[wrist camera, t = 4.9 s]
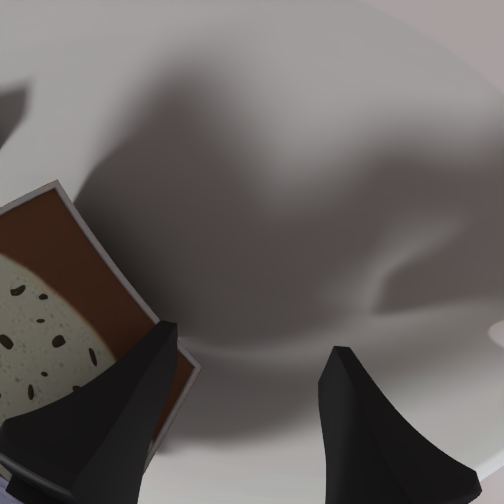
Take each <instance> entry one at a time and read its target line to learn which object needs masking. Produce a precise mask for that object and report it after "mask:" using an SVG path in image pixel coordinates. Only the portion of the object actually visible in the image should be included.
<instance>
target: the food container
mask: <svg viewBox="0 0 504 504" xmlns="http://www.w3.org/2000/svg"><path fill="white" fill-rule="evenodd" d="M159 321H160V320H159V318H158V317H157V316H156V315H155V314H154V312H153V311H152V310H151V309H150V308H149V306H148V305H147V304H146V303H145V302H144V300H143V299H142V298H141V297H140V295H139V294H138V293H137V292H136V290H135V289H134V288H133V287H132V285H131V284H130V283H129V282H128V280H127V279H126V278H125V277H124V275H123V274H122V273H121V271H120V270H119V269H118V267H117V266H116V265H115V263H114V262H113V261H112V259H111V258H110V257H109V255H108V254H107V253H106V251H105V250H104V248H103V247H102V246H101V244H100V243H99V242H98V240H97V239H96V237H95V236H94V234H93V233H92V232H91V230H90V229H89V227H88V226H87V224H86V223H85V221H84V220H83V218H82V217H81V215H80V214H79V212H78V211H77V209H76V208H75V206H74V205H73V203H72V202H71V200H70V199H69V197H68V195H67V194H66V192H65V191H64V189H63V188H62V186H61V184H60V183H59V181H58V179H57V180H55V181H53V182H51V183H49V184H46V185H44V186H42V187H40V188H38V189H36V190H34V191H32V192H30V193H28V194H26V195H24V196H22V197H20V198H18V199H16V200H14V201H12V202H10V203H8V204H6V205H4V206H3V207H1V208H0V426H1V425H2V423H3V422H4V421H5V419H8V418H12V417H15V416H18V415H21V414H25V413H28V412H31V411H34V410H36V409H39V408H41V407H43V406H46V405H48V404H50V403H52V402H54V401H57V400H59V399H61V398H63V397H65V396H67V395H68V394H70V393H72V392H74V391H75V390H77V389H79V388H80V387H82V386H84V385H85V384H87V383H88V382H90V381H91V380H93V379H94V378H96V377H97V376H99V375H100V374H101V373H103V372H104V371H105V370H107V369H108V368H109V367H110V366H112V365H113V364H114V363H115V362H116V361H118V360H119V359H120V358H121V357H123V356H124V355H125V354H126V353H127V352H128V351H129V350H130V349H131V348H132V347H134V346H135V345H136V344H137V343H138V342H139V341H140V340H141V339H142V338H143V337H144V336H145V335H146V334H147V333H148V332H149V331H150V330H151V329H152V328H153V327H154V326H155V325H156V324H157V323H158V322H159ZM177 356H178V363H177V367H176V371H175V375H174V379H173V383H172V386H171V389H170V392H169V394H168V397H167V399H166V402H165V405H164V407H163V410H162V412H161V415H160V417H159V420H158V423H157V425H156V428H155V430H154V433H153V436H152V439H151V442H150V446H149V450H148V454H147V458H146V462H145V467H144V471H143V474H144V473H145V471H146V469H147V467H148V465H149V464H150V462H151V460H152V458H153V456H154V454H155V453H156V451H157V449H158V447H159V445H160V443H161V442H162V440H163V438H164V436H165V434H166V432H167V431H168V429H169V427H170V425H171V423H172V421H173V420H174V418H175V416H176V414H177V412H178V410H179V409H180V407H181V405H182V403H183V401H184V399H185V398H186V396H187V394H188V392H189V390H190V388H191V386H192V385H193V383H194V381H195V379H196V377H197V375H198V373H199V372H200V370H201V368H202V366H201V365H200V364H199V363H198V362H197V361H196V360H195V359H194V358H193V357H192V355H191V354H190V353H189V352H188V351H187V350H186V349H185V348H184V347H183V346H182V345H181V343H180V342H179V341H178V340H177ZM0 477H2V478H3V479H5V480H6V481H8V482H9V481H10V479H11V477H12V474H11V473H10V472H9V471H8V470H7V469H5V468H4V467H3V466H2V465H1V464H0Z"/></svg>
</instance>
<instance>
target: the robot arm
mask: <svg viewBox="0 0 504 504" xmlns="http://www.w3.org/2000/svg"><path fill="white" fill-rule="evenodd" d="M177 363H178V356H177V323H171V322H166V321H162V320H161V321H159V322H158V323H157V324H156V325H155V326H154V327H153V328H152V329H151V330H150V331H149V332H148V333H147V334H146V335H145V336H144V337H143V338H142V339H141V340H140V341H139V342H138V343H137V344H136V345H135V346H134V347H132V348H131V349H130V350H129V351H128V352H127V353H126V354H125V355H124V356H123V357H121V358H120V359H119V360H118V361H116V362H115V363H114V364H113V365H112V366H110V367H109V368H108V369H107V370H105V371H104V372H103V373H101V374H100V375H99V376H97V377H96V378H94V379H93V380H91V381H90V382H88V383H87V384H85V385H84V386H82V387H80V388H79V389H77V390H75V391H74V392H72V393H70V394H68V395H67V396H65V397H63V398H61V399H59V400H57V401H54V402H52V403H50V404H48V405H46V406H43V407H41V408H39V409H36V410H34V411H31V412H28V413H25V414H21V415H18V416H15V417H12V418H8V419H5V421H4V422H3V423H2V425H1V426H0V464H1V465H2V466H3V467H4V468H5V469H7V470H8V471H9V472H10V473H11V474H12V477H11V479H10V481H9V482H8V481H6V480H5V479H3V478H2V477H0V504H137V502H138V497H139V491H140V486H141V481H142V476H143V471H144V467H145V462H146V458H147V454H148V450H149V446H150V442H151V439H152V436H153V433H154V430H155V428H156V425H157V423H158V420H159V417H160V415H161V412H162V410H163V407H164V405H165V402H166V399H167V397H168V394H169V392H170V389H171V386H172V383H173V379H174V375H175V371H176V367H177ZM318 399H319V412H320V419H321V426H322V433H323V440H324V448H325V456H326V501H325V504H468V503H470V502H471V501H473V500H474V499H476V498H477V497H478V496H479V495H480V494H481V492H482V489H481V486H480V483H479V479H478V476H477V473H476V471H474V470H472V469H471V468H469V467H467V466H465V465H463V464H462V463H460V462H458V461H456V460H454V459H453V458H451V457H450V456H448V455H447V454H445V453H444V452H443V451H441V450H440V449H438V448H437V447H436V446H434V445H433V444H432V443H431V442H429V441H428V440H427V439H426V438H425V437H423V436H422V435H421V434H420V433H419V432H418V431H417V430H416V429H414V428H413V427H412V426H411V425H410V424H409V423H408V422H407V421H406V420H405V419H404V418H403V417H402V415H401V414H400V413H399V412H398V411H397V410H396V409H395V408H394V406H393V405H392V404H391V403H390V402H389V401H388V399H387V398H386V397H385V396H384V394H383V393H382V392H381V391H380V389H379V388H378V387H377V385H376V384H375V383H374V381H373V380H372V378H371V377H370V376H369V374H368V373H367V371H366V370H365V369H364V367H363V366H362V364H361V363H360V361H359V360H358V359H357V357H356V356H355V354H354V353H353V351H352V350H351V349H350V347H341V346H334V347H333V349H332V352H331V354H330V356H329V359H328V361H327V364H326V366H325V368H324V370H323V373H322V375H321V377H320V379H319V382H318Z"/></svg>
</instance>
